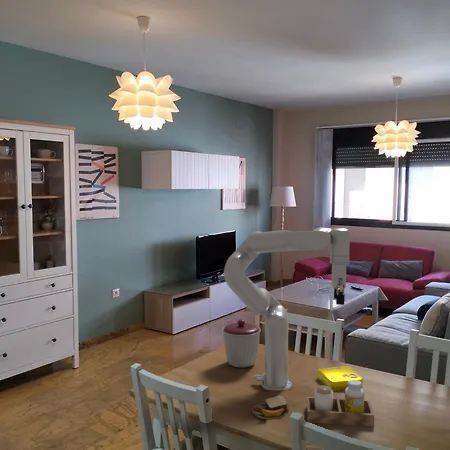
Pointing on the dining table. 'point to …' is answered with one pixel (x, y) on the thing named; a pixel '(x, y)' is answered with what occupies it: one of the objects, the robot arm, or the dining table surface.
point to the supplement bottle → (354, 397)
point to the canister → (241, 343)
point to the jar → (323, 398)
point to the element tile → (337, 377)
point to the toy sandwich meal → (271, 408)
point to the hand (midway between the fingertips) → (339, 301)
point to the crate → (340, 414)
